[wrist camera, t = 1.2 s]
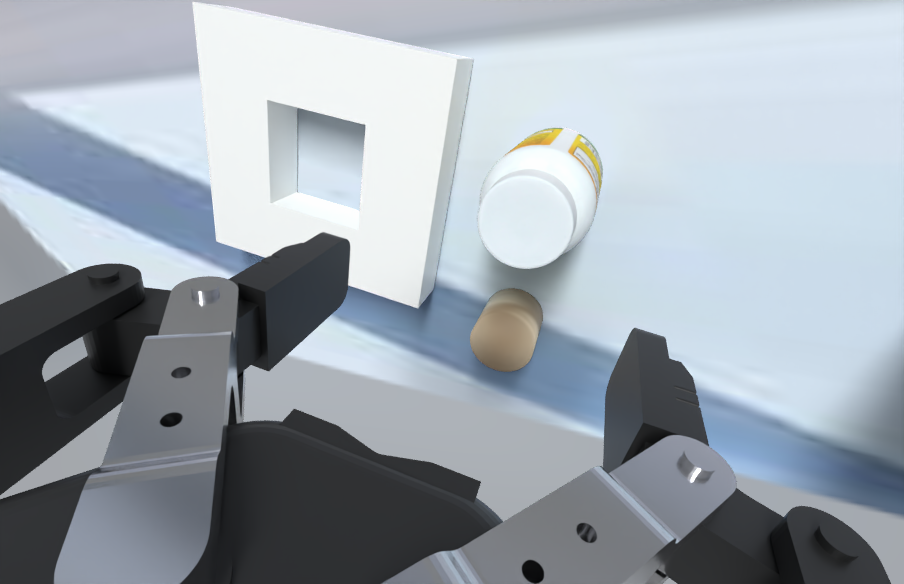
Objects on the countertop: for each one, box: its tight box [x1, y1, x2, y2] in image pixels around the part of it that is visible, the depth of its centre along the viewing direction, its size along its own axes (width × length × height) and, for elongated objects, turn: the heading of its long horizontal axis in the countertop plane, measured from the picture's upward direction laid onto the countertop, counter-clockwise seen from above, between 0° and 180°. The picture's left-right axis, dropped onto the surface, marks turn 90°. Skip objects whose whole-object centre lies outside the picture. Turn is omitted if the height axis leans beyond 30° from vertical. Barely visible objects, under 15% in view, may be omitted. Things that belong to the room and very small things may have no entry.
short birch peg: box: [470, 288, 543, 372], centre depth 30 cm, size 4×4×4 cm
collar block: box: [193, 2, 474, 308], centre depth 29 cm, size 16×15×3 cm
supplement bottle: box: [477, 127, 603, 269], centre depth 23 cm, size 5×5×10 cm
